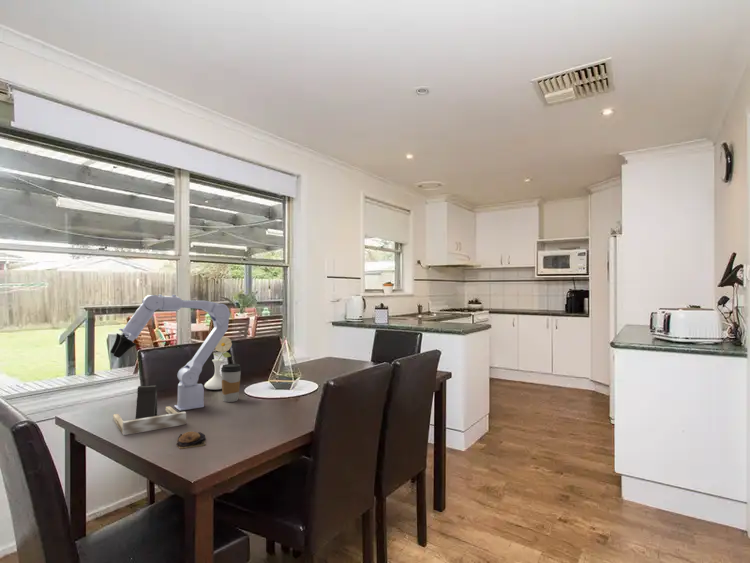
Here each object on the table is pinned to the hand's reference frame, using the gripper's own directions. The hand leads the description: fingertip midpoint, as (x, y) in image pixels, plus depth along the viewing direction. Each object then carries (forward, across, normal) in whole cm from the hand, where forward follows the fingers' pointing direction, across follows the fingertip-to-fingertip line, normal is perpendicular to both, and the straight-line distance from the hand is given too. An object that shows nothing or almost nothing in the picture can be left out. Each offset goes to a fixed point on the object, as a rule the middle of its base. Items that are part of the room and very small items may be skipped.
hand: (114, 355), depth 157 cm
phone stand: (+15, +9, +20) cm, 26 cm away
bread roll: (+11, +43, +25) cm, 51 cm away
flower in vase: (-4, -23, +52) cm, 57 cm away
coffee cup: (-3, +1, +49) cm, 49 cm away
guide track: (+14, +12, +20) cm, 27 cm away
